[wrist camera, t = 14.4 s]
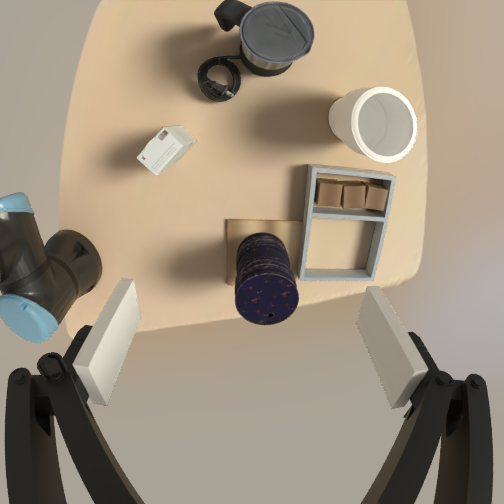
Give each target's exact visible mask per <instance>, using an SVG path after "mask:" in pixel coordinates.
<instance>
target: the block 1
mask: <svg viewBox="0 0 504 504" xmlns="http://www.w3.org/2000/svg"><path fill="white" fill-rule="evenodd" d="M342 186H343V185H342V184H341V183H340V182H339V181H337V180H335V179H324V178H316V185H315V194H314V201H315V202H316V204H317V205H319V206H335V207H340V201H341V193H342Z"/></svg>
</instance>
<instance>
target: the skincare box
mask: <svg viewBox="0 0 504 504" xmlns="http://www.w3.org/2000/svg"><path fill="white" fill-rule="evenodd" d="M196 142H197V140H196V139H195V138H193V137H192V136H191V135H190V134H189V133H188V132H187V131H186V130H185V129H184V128H183V127H182V126H171V127H163V128H162V129H161V130H160V131H159V132H158V133H157V134H156V135H155V136H154V138H153V139H151V140H150V141H149V142H148V144H147V145H146V147H145V148H144V149H143V150H142V151H141V152H140V154H139V155H138V156H137V159H138V160H139V161H140V162H141V163H142V164H143V165H144V166H145V167H147V168H148V169H149V170H150V171H151V172H152V173H153V174H154V175H155V176H157V175H158V174H160V173H162V172H163V171H165V170H166V169H168V168H169V167H171V166H172V165H174V164H175V163H176V162H177V161H178V160H179V159H180V158H181V157H182V156H183V155H184V154H185V153H186V152H187V151H188V150H189V149H190V148H191V147H192V146H193V145H194V144H195V143H196Z"/></svg>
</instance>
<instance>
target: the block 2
mask: <svg viewBox="0 0 504 504" xmlns="http://www.w3.org/2000/svg"><path fill="white" fill-rule="evenodd" d="M339 182H340V183H341V184H342V185H343V186H342V193H341V201H340V205H341V206H342V207H343V208H364V205H365V185H363V184H362V183H361V182H359V181H339Z"/></svg>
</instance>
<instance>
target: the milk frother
mask: <svg viewBox="0 0 504 504" xmlns="http://www.w3.org/2000/svg"><path fill="white" fill-rule="evenodd" d="M214 15H215V17H216V19H217V21H218V23H219V25H220V27H221V29H223V30H224V31H226V32H228V31H230V30H231V29H232V28H233V27H234V26H235V25H237V26H239V27H240V29H239V31H240V38H241V46H240V55H238V56H222V57H214V58H211V59H208V60H206V61H205V62H204V63H203V64H202V65H201V66H200V68H199V70H198V82H199V86H200V88H201V90H202V92H203V93H204V94H205V96H207V97H208V98H209V99H211V100H214V101H218V102H222V101H227V100H229V99H231V98H232V97H234V95H235V94H236V93H237V91H238V90H239V88H240V85H241V77H240V73H239V70H238V68H237V67H236V66H235V65H234V64H233V63H232V62H230V61H228V60H227V59H241V60H242V62H243V64H244V65H245V67H246V68H248V69H249V70H250V71H251V72H253V73H255V74H257V75H261V76H276V75H279V74H281V73H283V72H285V71H286V70H287V69H288V68H289V67H290V66H291V64H292V63H293V61H295V60H298V59H299V58H301V57H302V56H305V55H306V54H308V53H309V52H310V50H311V47H312V44H313V41H314V28H313V25H312V23H311V21H310V19H309V18H308V16H307V15H306V14H305V13H304V12H302V11H301V10H300V9H299V8H297V7H295V6H293V5H291V4H288V3H284V2H274V1H273V2H265V3H262V4H259V5H256V6H254V7H253V8H252V7H250V6H248V5H246V4H244V3H242V2H240V1H237V0H225V1H223V2H222V3H221V4H220V5H219V6H218V7H217V9H216V10H215V12H214ZM215 65H223V66H226V67H227V68H228V69H229V70H230V71H231V73H232V75H233V79H234V83H233V87H232V89H231V91H228V89H227V88H228V86H227V85H226V86H223V85H221V84H218V83H216V81H211V80H210V79H209V78H207V72H208V70H209V69H210V68H211V67H213V66H215ZM210 88H212V89H213V90H215V91H216V92H218V94H215V93H214V92H213V91H212V90H211V89H210Z"/></svg>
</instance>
